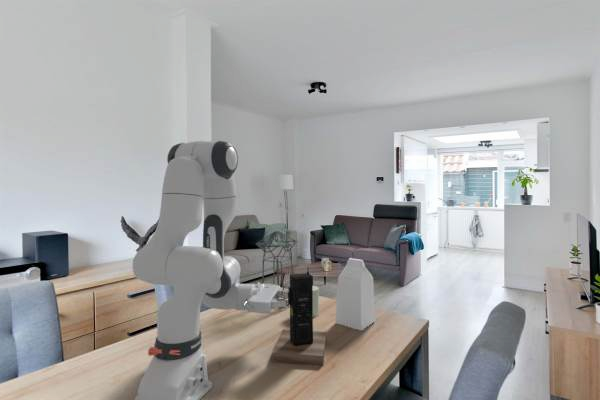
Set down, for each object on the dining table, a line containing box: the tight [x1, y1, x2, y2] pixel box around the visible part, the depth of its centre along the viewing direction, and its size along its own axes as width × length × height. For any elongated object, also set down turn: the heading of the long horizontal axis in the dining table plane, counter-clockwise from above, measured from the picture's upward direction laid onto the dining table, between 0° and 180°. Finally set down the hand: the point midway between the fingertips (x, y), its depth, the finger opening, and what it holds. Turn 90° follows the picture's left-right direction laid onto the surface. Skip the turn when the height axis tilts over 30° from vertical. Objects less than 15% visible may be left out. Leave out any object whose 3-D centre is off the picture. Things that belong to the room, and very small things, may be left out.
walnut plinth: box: [272, 329, 327, 366], centre depth 117 cm, size 18×16×3 cm
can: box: [313, 285, 320, 318], centre depth 150 cm, size 9×9×12 cm
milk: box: [335, 257, 376, 331], centre depth 141 cm, size 12×12×26 cm
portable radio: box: [287, 266, 314, 346], centre depth 116 cm, size 8×6×25 cm
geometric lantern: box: [255, 230, 299, 309], centre depth 163 cm, size 16×16×35 cm
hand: (288, 298), depth 117 cm, fingers open, 8 cm apart
